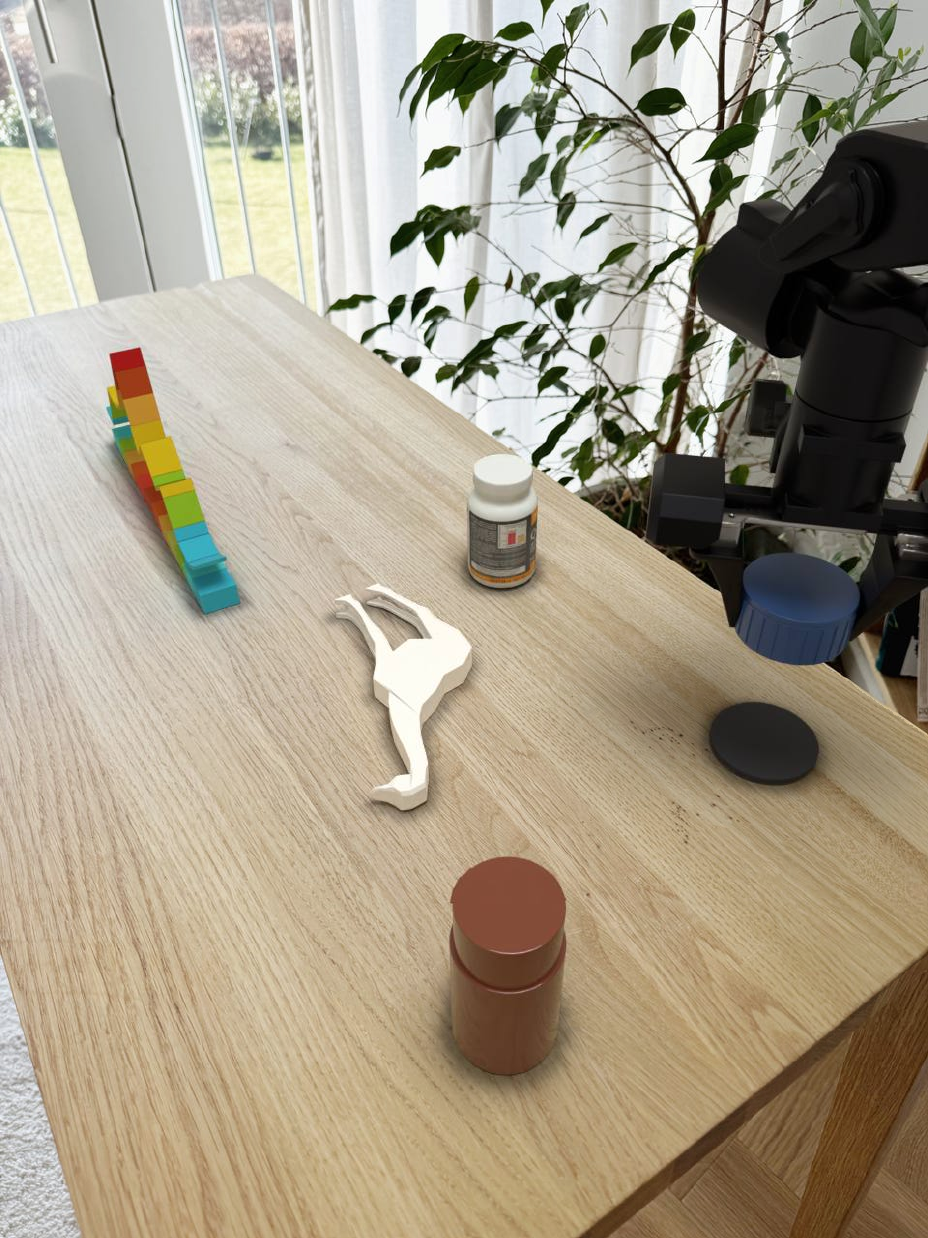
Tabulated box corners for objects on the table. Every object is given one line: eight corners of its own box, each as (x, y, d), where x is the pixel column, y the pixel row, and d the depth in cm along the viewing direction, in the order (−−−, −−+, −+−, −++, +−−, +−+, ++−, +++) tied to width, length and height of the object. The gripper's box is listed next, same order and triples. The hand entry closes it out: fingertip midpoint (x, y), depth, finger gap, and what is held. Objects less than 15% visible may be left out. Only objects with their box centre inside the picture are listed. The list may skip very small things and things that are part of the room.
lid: (766, 580, 63) (776, 538, 60) (866, 625, 59) (881, 582, 57) (711, 632, 59) (719, 589, 57) (814, 683, 55) (828, 639, 53)
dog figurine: (252, 631, 73) (384, 805, 60) (401, 573, 79) (551, 721, 66) (256, 649, 74) (385, 824, 61) (402, 591, 80) (549, 740, 67)
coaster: (813, 715, 69) (815, 709, 68) (821, 793, 63) (823, 787, 63) (709, 701, 70) (710, 695, 69) (708, 776, 64) (709, 770, 64)
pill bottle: (546, 581, 81) (552, 478, 74) (482, 597, 79) (483, 494, 73) (518, 544, 85) (522, 444, 78) (457, 559, 83) (455, 458, 77)
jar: (563, 984, 53) (577, 862, 46) (550, 1085, 49) (562, 969, 42) (463, 965, 54) (461, 844, 47) (441, 1063, 50) (436, 946, 43)
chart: (243, 602, 79) (210, 438, 69) (204, 614, 78) (165, 449, 68) (148, 438, 99) (112, 294, 90) (116, 445, 98) (77, 301, 89)
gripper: (1015, 342, 53) (930, 568, 63) (672, 317, 56) (642, 537, 66) (1070, 442, 45) (961, 685, 55) (663, 407, 48) (630, 643, 58)
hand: (789, 629), depth 59 cm, fingers closed on lid, 6 cm apart
